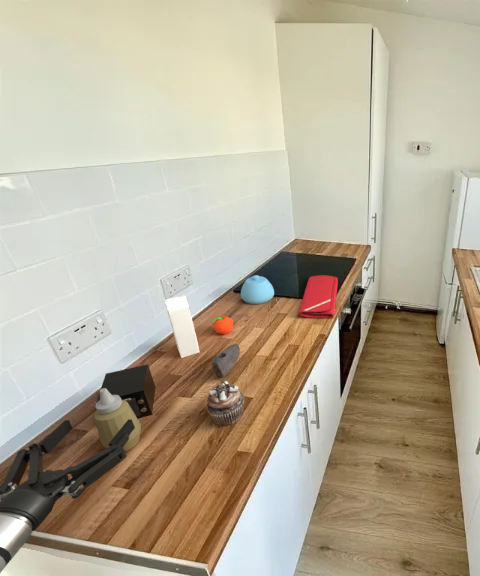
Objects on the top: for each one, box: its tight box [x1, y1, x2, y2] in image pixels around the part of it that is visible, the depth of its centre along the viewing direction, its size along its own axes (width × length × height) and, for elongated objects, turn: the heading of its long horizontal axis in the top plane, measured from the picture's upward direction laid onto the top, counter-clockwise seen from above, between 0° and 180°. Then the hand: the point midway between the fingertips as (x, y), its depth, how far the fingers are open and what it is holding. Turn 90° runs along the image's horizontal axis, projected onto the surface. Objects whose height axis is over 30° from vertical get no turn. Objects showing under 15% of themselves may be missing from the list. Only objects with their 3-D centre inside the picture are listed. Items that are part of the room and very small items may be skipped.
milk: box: [164, 295, 201, 359], centre depth 112 cm, size 6×6×22 cm
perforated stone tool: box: [211, 343, 241, 379], centre depth 109 cm, size 15×5×7 cm, turn 175°
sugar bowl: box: [240, 274, 275, 305], centre depth 153 cm, size 15×15×12 cm
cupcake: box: [206, 379, 246, 427], centre depth 90 cm, size 10×10×10 cm
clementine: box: [212, 315, 234, 335], centre depth 127 cm, size 8×7×7 cm
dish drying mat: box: [298, 274, 339, 319], centre depth 159 cm, size 16×41×4 cm, turn 5°
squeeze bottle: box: [93, 388, 142, 452], centre depth 79 cm, size 8×8×18 cm
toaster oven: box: [95, 364, 157, 420], centre depth 91 cm, size 10×13×9 cm
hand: (100, 423), depth 75 cm, fingers open, 13 cm apart
